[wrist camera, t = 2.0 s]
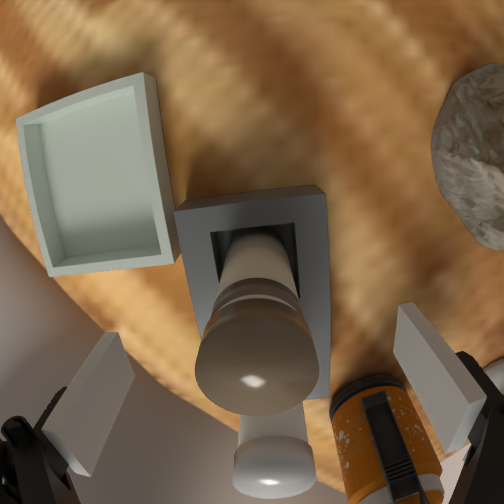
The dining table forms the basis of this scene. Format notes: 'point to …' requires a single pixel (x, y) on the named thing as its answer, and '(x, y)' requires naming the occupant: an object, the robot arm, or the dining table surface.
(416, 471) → the canister
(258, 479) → the cylinder
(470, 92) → the grey jagged lump
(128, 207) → the parts tray
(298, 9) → the dining table surface
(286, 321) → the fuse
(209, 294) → the block
